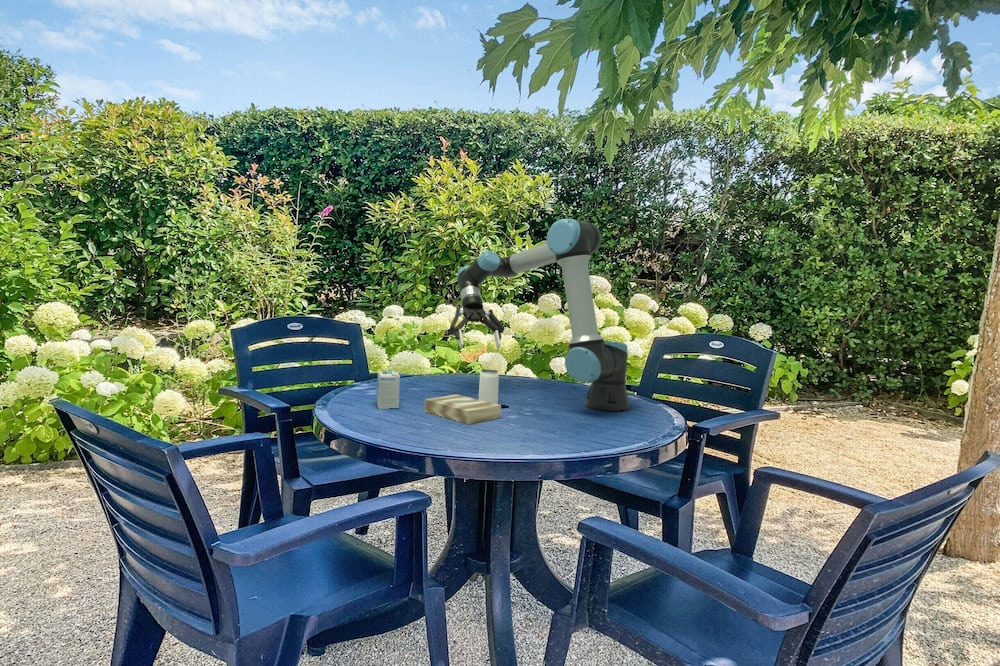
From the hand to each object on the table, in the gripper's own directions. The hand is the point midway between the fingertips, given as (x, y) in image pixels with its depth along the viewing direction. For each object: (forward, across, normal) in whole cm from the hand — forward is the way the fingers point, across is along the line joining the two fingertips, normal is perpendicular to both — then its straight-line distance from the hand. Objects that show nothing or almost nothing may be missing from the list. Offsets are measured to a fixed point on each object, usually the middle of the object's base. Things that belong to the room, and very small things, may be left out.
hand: (480, 346), depth 214 cm
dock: (+29, +11, +3) cm, 32 cm away
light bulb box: (+19, +33, -9) cm, 39 cm away
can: (+21, 0, -5) cm, 22 cm away
